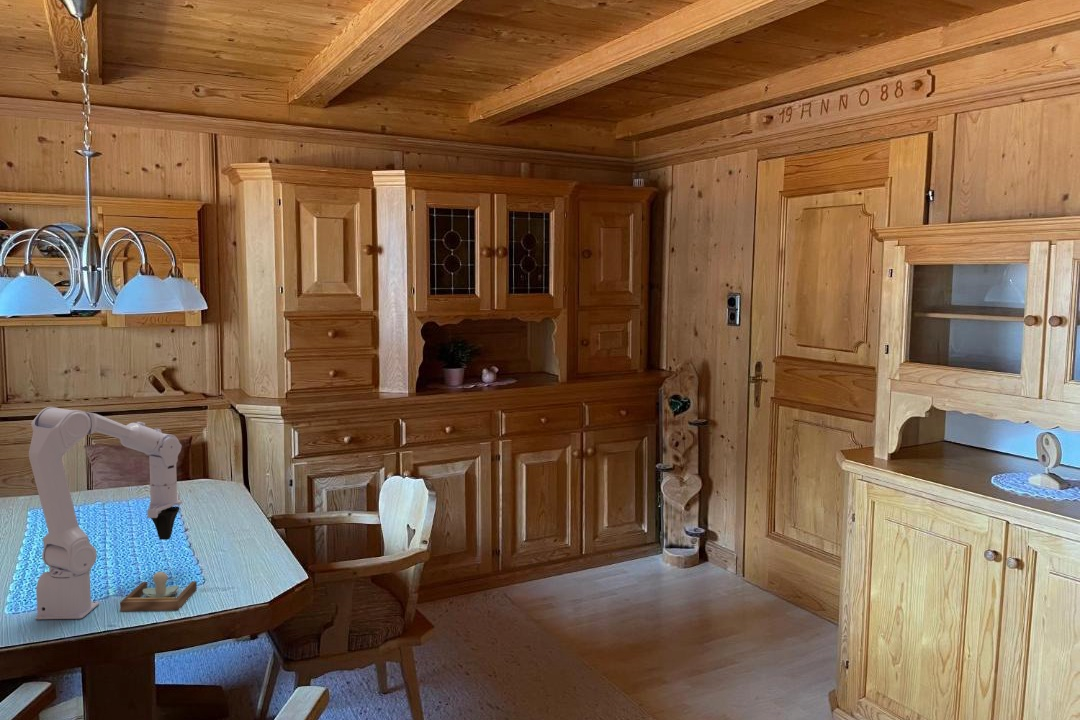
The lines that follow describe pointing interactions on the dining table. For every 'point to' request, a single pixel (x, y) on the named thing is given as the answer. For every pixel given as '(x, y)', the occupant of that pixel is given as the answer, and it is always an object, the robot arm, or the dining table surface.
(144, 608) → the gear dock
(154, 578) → the pacifier
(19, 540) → the dining table surface
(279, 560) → the dining table surface
